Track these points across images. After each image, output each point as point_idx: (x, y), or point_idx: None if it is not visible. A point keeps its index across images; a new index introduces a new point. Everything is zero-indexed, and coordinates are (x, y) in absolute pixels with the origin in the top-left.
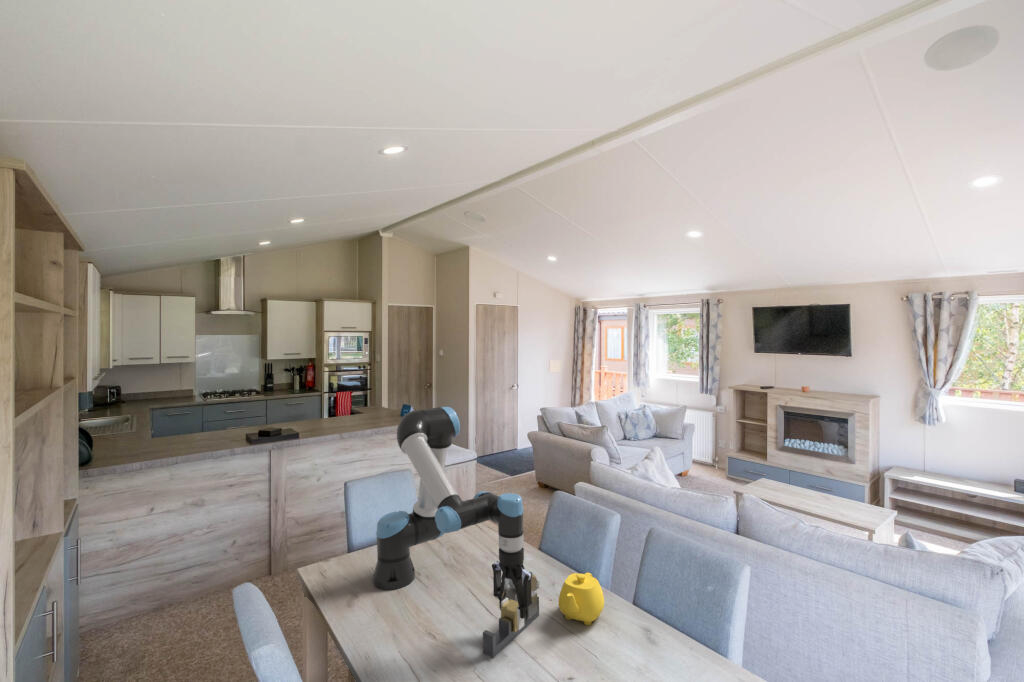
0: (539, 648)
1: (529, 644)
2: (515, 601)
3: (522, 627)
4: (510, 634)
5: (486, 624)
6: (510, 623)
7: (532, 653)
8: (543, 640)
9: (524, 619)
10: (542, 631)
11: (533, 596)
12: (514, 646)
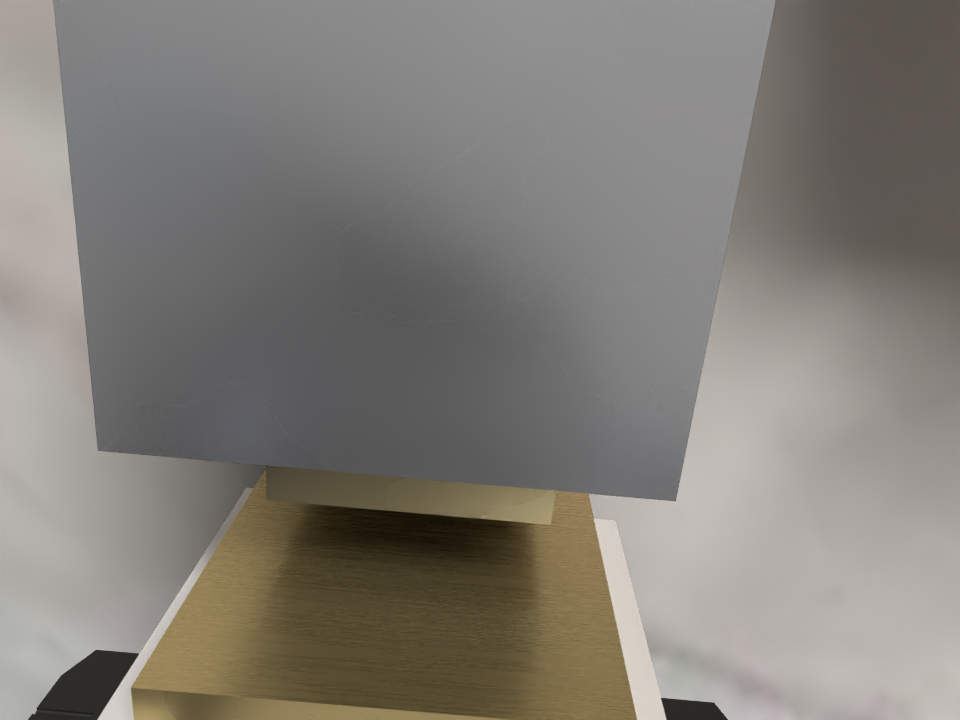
0: (889, 579)
1: (739, 571)
2: (334, 717)
3: None
4: None
5: (4, 489)
6: None
7: (834, 680)
8: (894, 427)
9: None
10: (814, 253)
11: (733, 159)
12: None
